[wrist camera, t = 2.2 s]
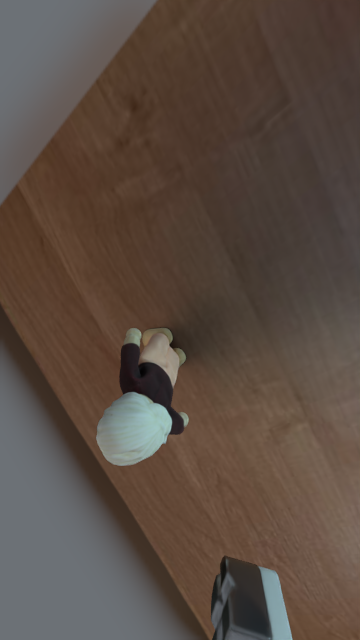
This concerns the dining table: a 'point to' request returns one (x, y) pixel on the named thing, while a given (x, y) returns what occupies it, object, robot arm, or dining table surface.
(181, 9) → the dining table surface
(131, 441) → the grandmother figurine
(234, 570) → the robot arm
